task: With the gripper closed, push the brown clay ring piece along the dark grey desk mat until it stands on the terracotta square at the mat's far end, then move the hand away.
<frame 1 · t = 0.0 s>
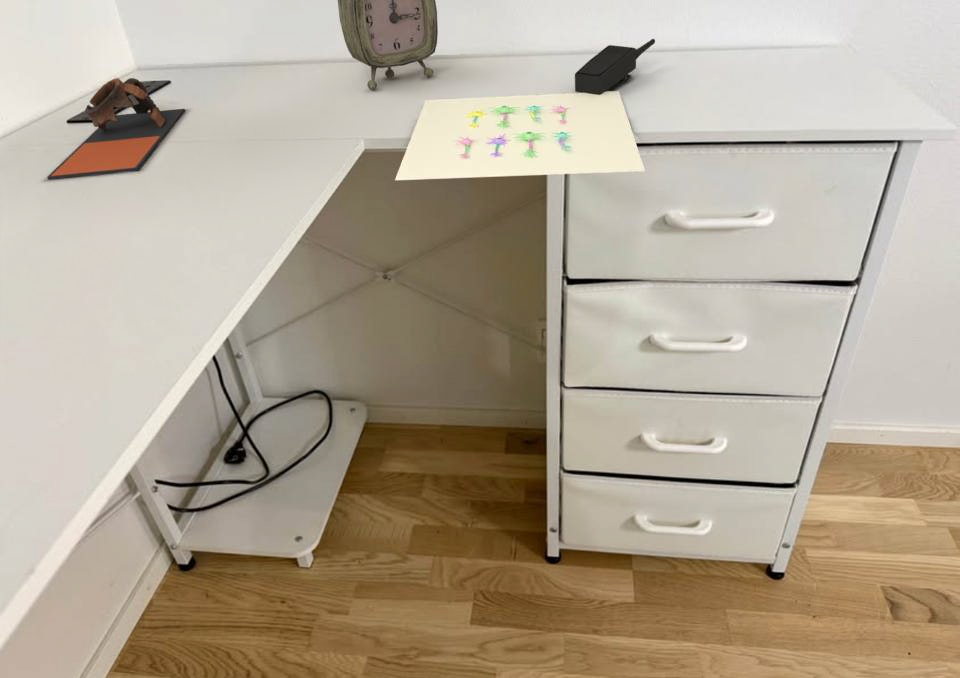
printed paper: (519, 134, 93), on the table, touching walkie-talkie
tabletop clock: (395, 81, 119), on the table
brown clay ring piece: (135, 127, 107), resting on desk mat
walkie-talkie: (615, 82, 111), on the table, touching printed paper
desk mat: (124, 141, 102), on the table
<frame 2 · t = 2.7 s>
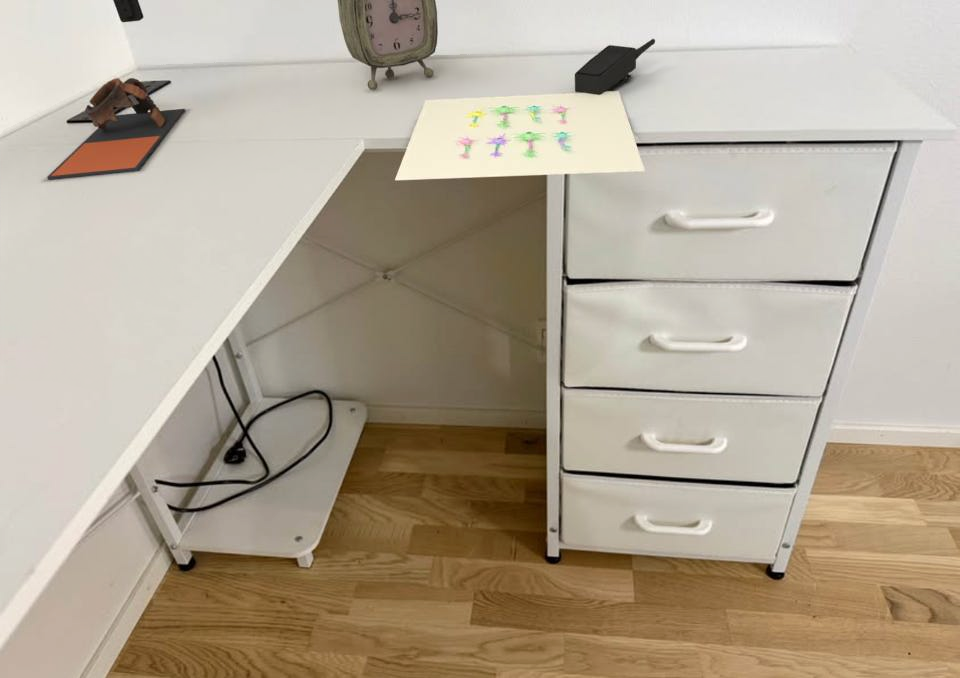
hand: (132, 20, 109), 13 cm above the table, tool pointing down, fingers closed
nothing on the table moved.
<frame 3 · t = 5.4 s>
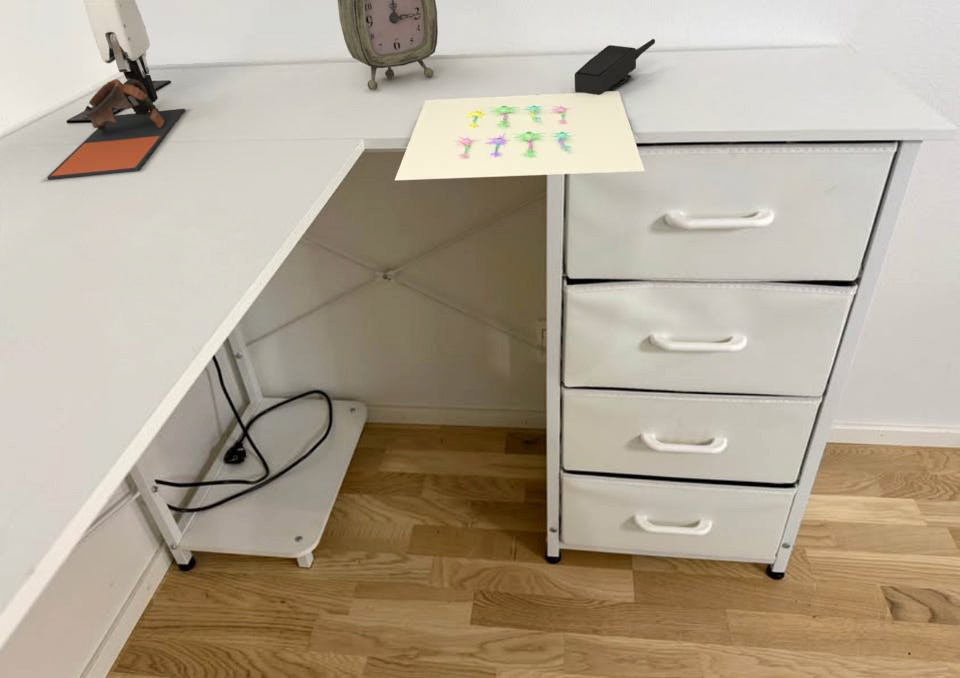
hand: (147, 101, 112), 2 cm above the table, tool pointing down, fingers closed
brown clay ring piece: (135, 128, 106), resting on desk mat, touching gripper
everything else where it was.
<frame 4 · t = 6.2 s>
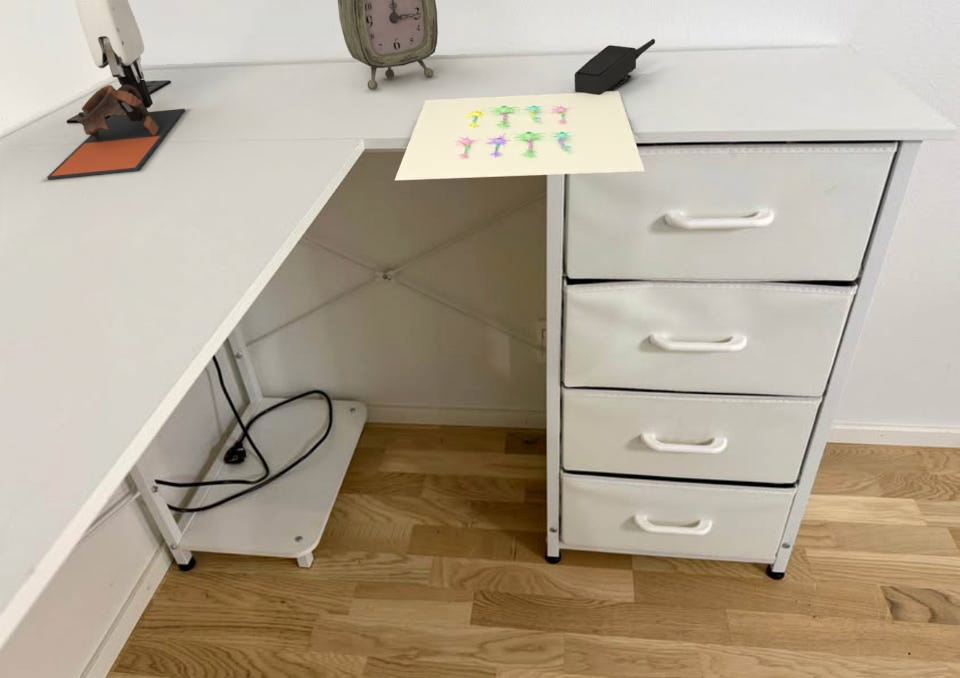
hand: (142, 106, 109), 2 cm above the table, tool pointing down, fingers closed
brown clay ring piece: (129, 135, 103), resting on desk mat, touching gripper
everything else where it was.
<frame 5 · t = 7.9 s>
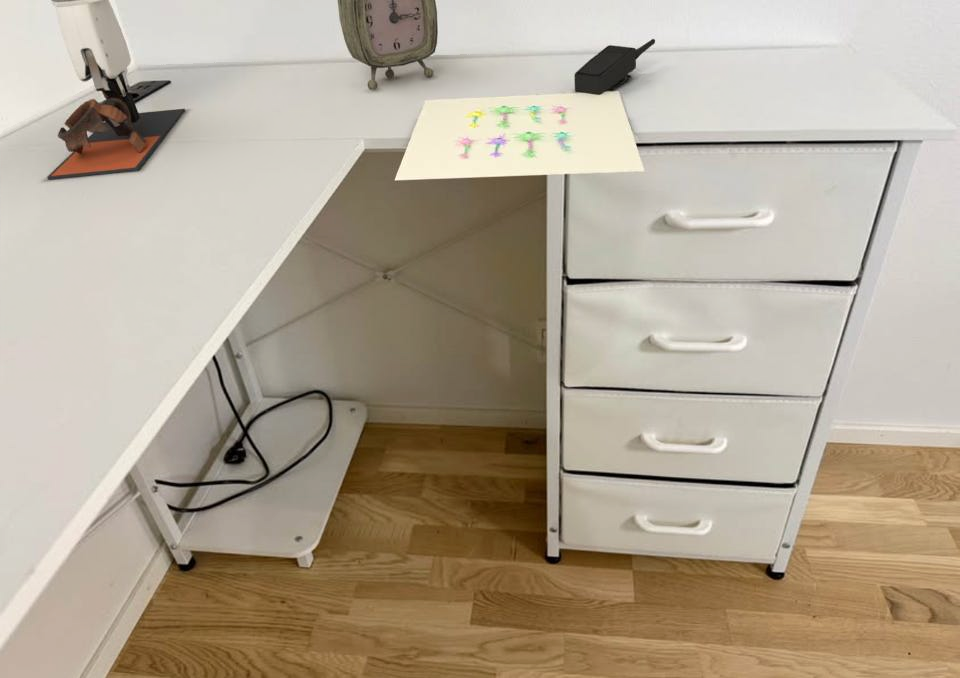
hand: (128, 121, 104), 2 cm above the table, tool pointing down, fingers closed
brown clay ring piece: (114, 151, 98), resting on desk mat, touching gripper
everything else where it was.
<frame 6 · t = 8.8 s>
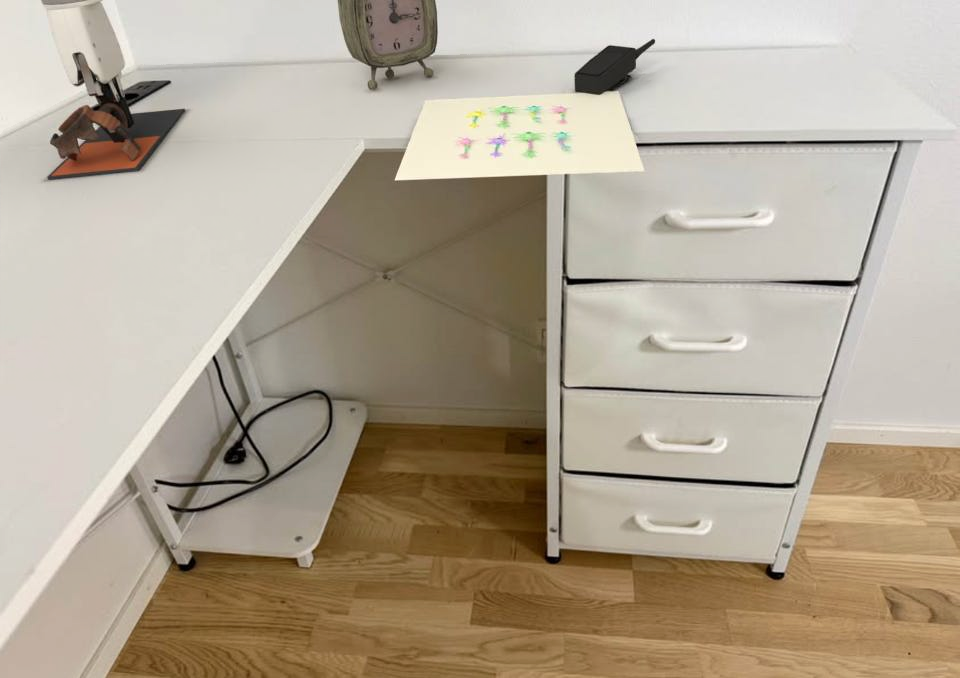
hand: (122, 126, 101), 2 cm above the table, tool pointing down, fingers closed
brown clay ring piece: (108, 158, 96), resting on desk mat, touching gripper
everything else where it was.
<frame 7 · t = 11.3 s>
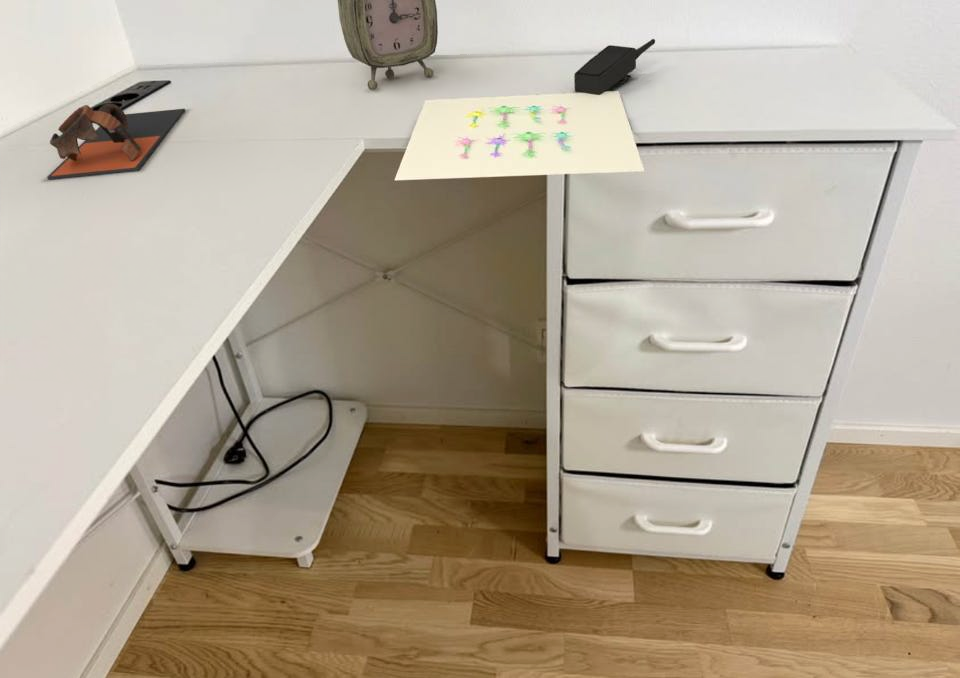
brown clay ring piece: (108, 158, 96), resting on desk mat
everything else where it was.
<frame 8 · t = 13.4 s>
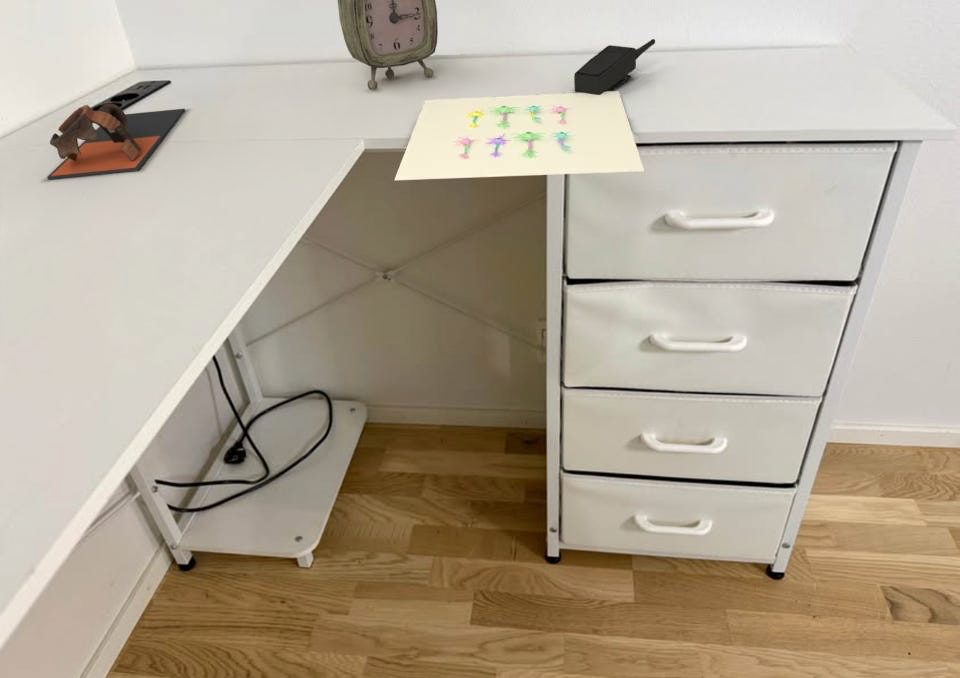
nothing on the table moved.
at the end: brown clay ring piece inside the target area (0.9 cm from its centre), resting on desk mat; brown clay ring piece tilted 0° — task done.
